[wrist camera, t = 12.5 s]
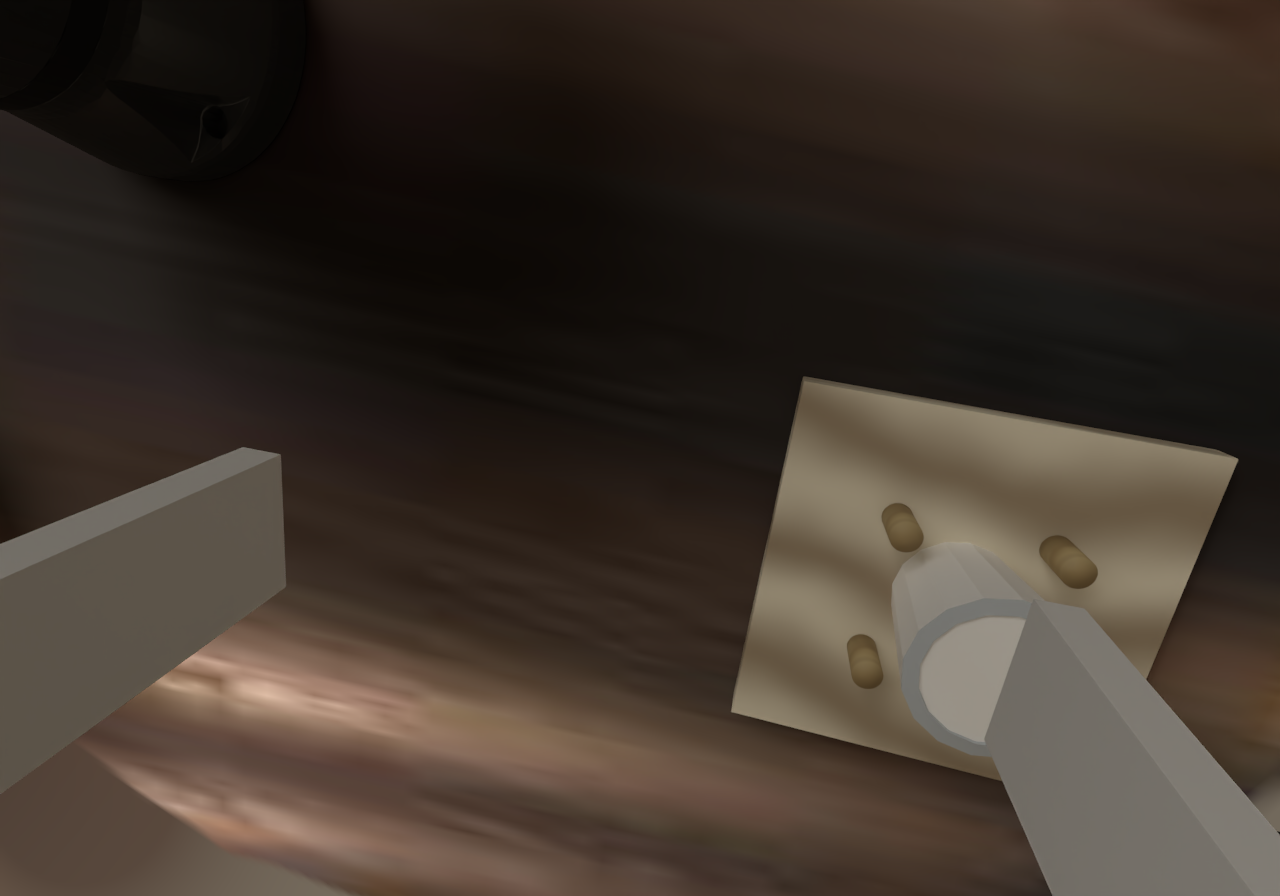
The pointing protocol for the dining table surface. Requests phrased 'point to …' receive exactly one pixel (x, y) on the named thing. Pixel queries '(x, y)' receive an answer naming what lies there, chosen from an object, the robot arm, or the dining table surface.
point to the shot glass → (957, 638)
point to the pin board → (963, 513)
